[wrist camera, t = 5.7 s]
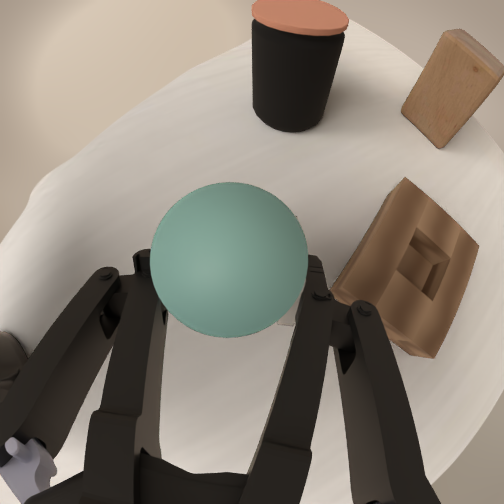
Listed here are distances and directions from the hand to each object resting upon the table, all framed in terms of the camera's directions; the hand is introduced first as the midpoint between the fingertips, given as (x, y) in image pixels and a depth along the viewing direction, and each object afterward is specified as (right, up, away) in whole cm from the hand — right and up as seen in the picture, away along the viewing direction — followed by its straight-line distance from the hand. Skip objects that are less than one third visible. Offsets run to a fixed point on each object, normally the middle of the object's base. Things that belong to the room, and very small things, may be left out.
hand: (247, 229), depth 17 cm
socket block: (+19, -4, +14) cm, 24 cm away
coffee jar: (+6, +20, +20) cm, 29 cm away
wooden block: (+33, +22, +20) cm, 44 cm away
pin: (-1, -5, +4) cm, 6 cm away
